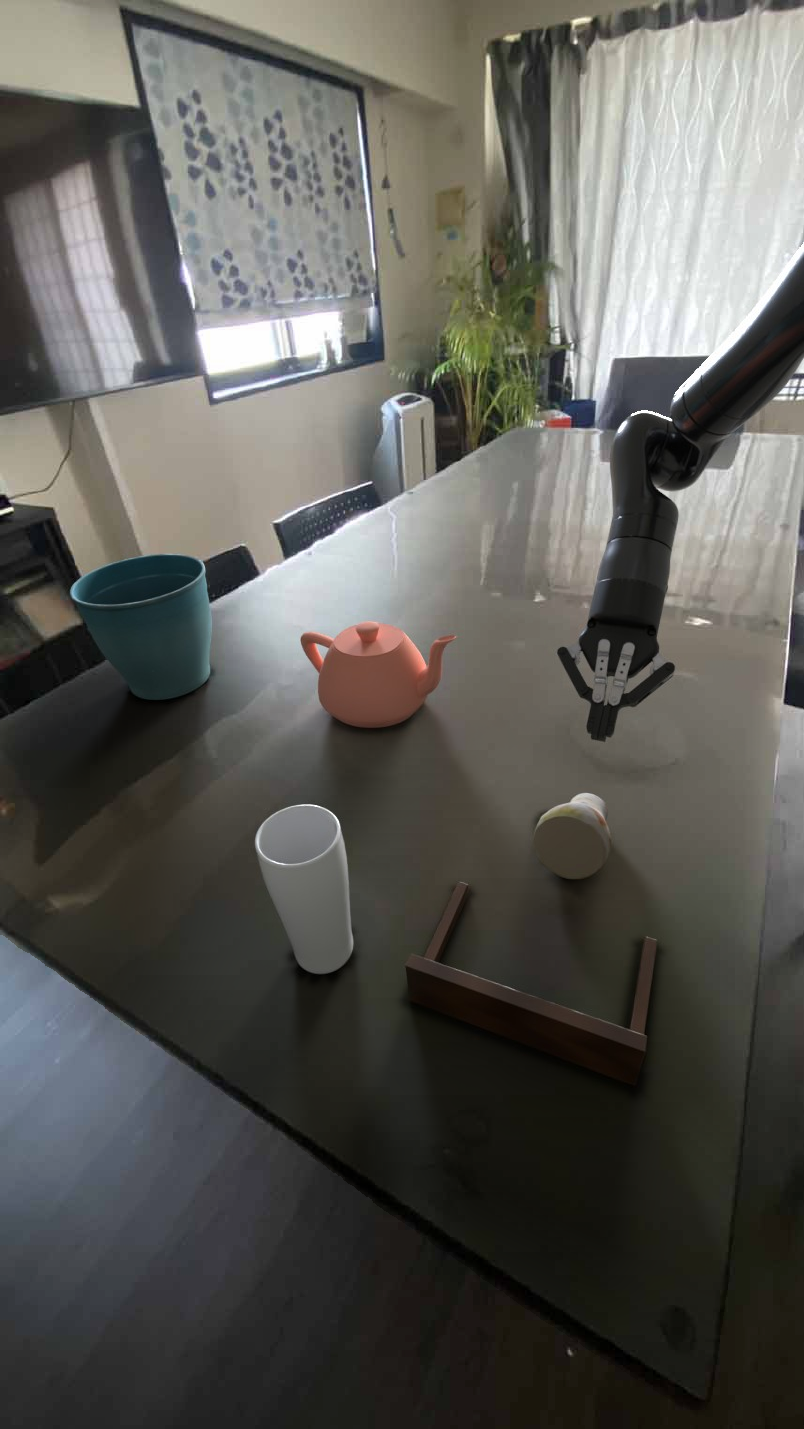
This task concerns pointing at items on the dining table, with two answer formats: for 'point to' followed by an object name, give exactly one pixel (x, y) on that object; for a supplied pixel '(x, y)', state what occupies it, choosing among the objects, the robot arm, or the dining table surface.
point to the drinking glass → (308, 884)
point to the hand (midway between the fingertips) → (598, 739)
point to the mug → (574, 837)
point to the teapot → (373, 673)
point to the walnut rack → (531, 1008)
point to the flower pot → (150, 621)
